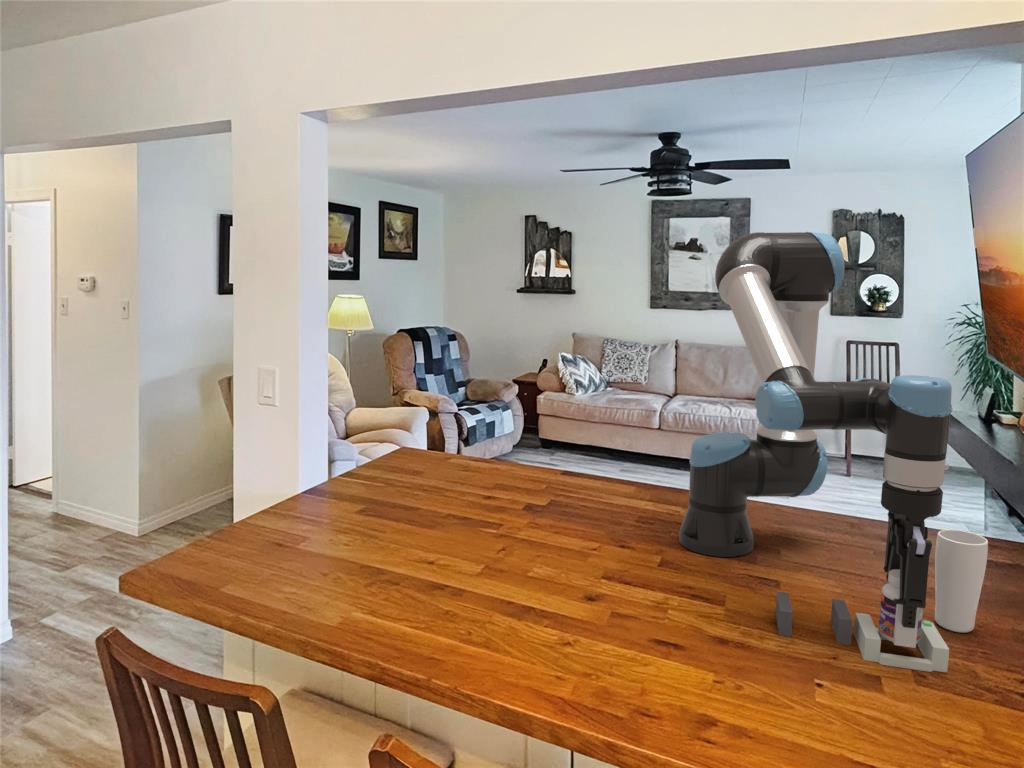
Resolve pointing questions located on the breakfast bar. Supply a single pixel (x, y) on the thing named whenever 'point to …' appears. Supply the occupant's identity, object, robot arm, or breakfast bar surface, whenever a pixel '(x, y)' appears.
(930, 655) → the port
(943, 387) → the robot arm
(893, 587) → the pill bottle
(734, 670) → the breakfast bar surface
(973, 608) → the drinking glass
